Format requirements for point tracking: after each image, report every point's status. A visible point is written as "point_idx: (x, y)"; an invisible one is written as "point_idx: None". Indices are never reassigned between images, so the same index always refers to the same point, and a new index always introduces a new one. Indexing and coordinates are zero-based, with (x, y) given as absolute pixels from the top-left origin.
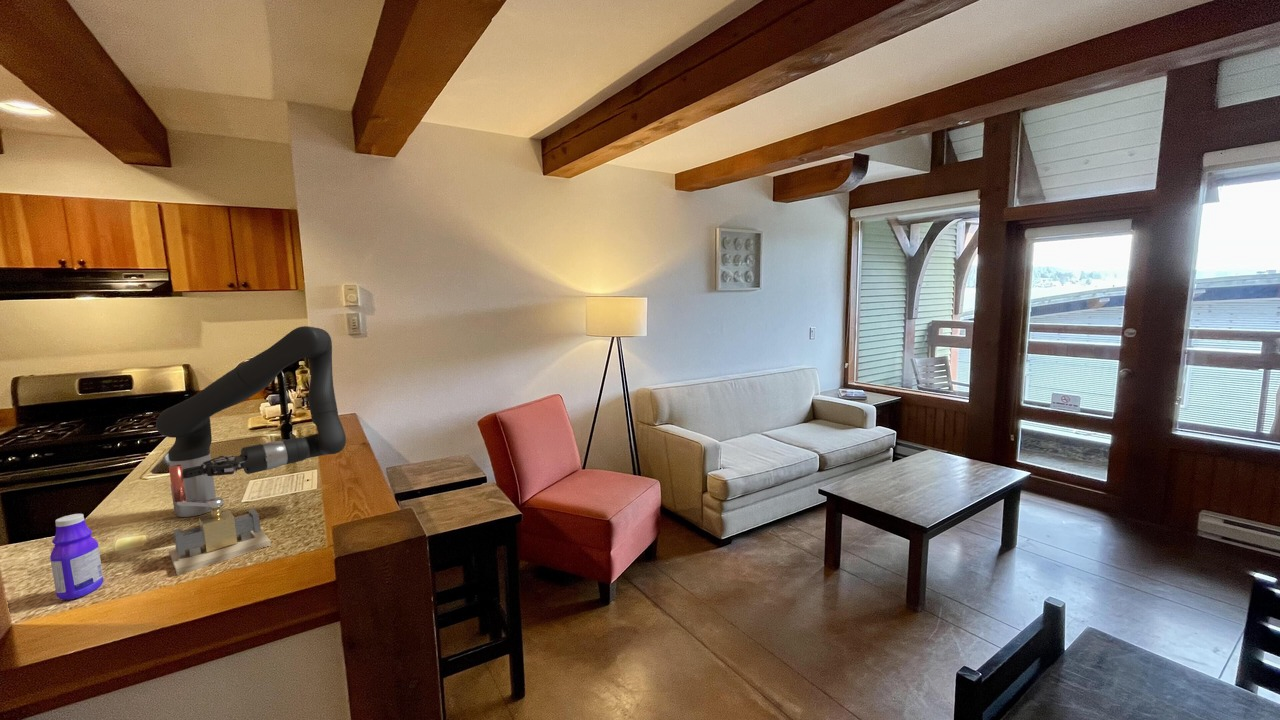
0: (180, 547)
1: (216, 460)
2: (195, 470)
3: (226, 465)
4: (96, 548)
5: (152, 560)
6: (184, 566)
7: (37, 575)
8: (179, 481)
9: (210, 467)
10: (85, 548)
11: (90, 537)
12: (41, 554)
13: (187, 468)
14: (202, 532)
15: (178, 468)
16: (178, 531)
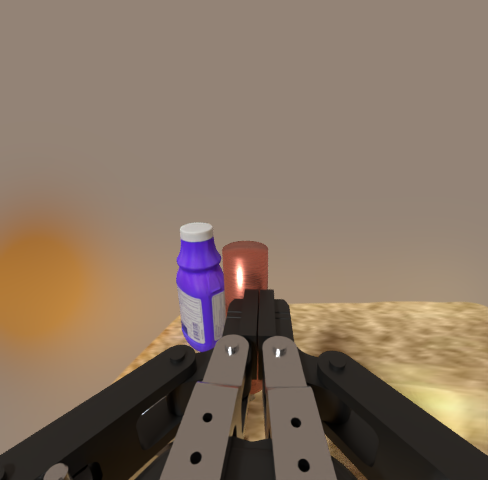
0: None
1: (271, 408)
2: (226, 323)
3: (25, 448)
4: (192, 297)
5: (246, 420)
6: None
7: (329, 315)
8: (226, 312)
9: (152, 361)
10: (179, 282)
11: (191, 275)
12: (427, 319)
13: (269, 298)
14: None
15: (223, 260)
16: (153, 405)
